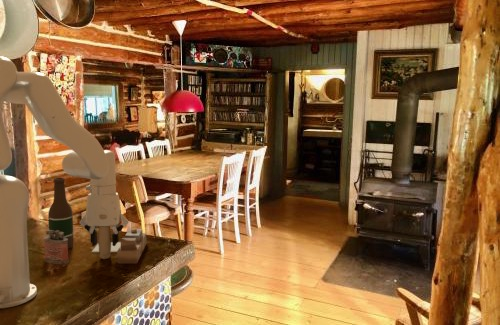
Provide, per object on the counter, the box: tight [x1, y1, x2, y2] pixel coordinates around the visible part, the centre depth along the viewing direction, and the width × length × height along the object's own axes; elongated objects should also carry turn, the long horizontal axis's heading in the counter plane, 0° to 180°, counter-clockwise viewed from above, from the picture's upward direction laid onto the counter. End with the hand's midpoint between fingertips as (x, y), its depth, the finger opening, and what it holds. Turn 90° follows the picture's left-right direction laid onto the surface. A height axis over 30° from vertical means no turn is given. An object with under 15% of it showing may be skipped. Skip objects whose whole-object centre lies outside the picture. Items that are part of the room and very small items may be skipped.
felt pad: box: [91, 241, 121, 254], centre depth 144 cm, size 9×9×1 cm
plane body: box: [116, 228, 147, 264], centre depth 139 cm, size 18×6×7 cm, turn 5°
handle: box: [97, 215, 112, 260], centre depth 134 cm, size 5×6×15 cm
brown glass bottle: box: [47, 177, 74, 250], centre depth 142 cm, size 8×8×24 cm
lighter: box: [43, 229, 70, 265], centre depth 130 cm, size 8×3×10 cm, turn 74°
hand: (104, 244), depth 134 cm, fingers open, 5 cm apart
